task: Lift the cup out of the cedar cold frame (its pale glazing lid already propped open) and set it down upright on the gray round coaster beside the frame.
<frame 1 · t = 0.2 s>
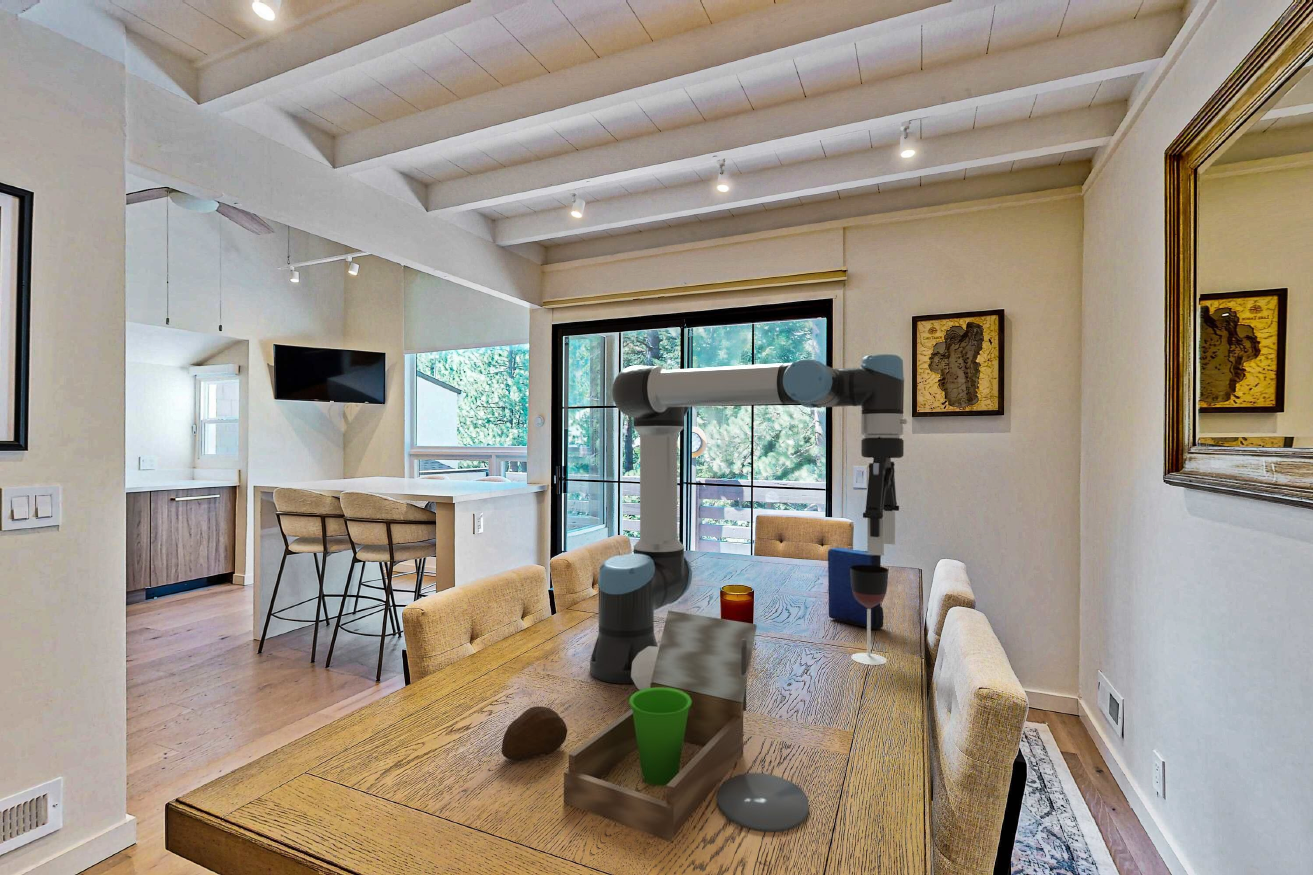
hand: (881, 549, 116), 28 cm above the table, fingers open, 13 cm apart
cold frame: (660, 776, 88), on the table
cup: (660, 777, 88), resting in cold frame
potato: (534, 754, 94), on the table
wineglass: (868, 659, 136), on the table
book: (855, 625, 162), on the table
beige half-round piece: (657, 697, 116), on the table
gray round coaster: (762, 803, 81), on the table
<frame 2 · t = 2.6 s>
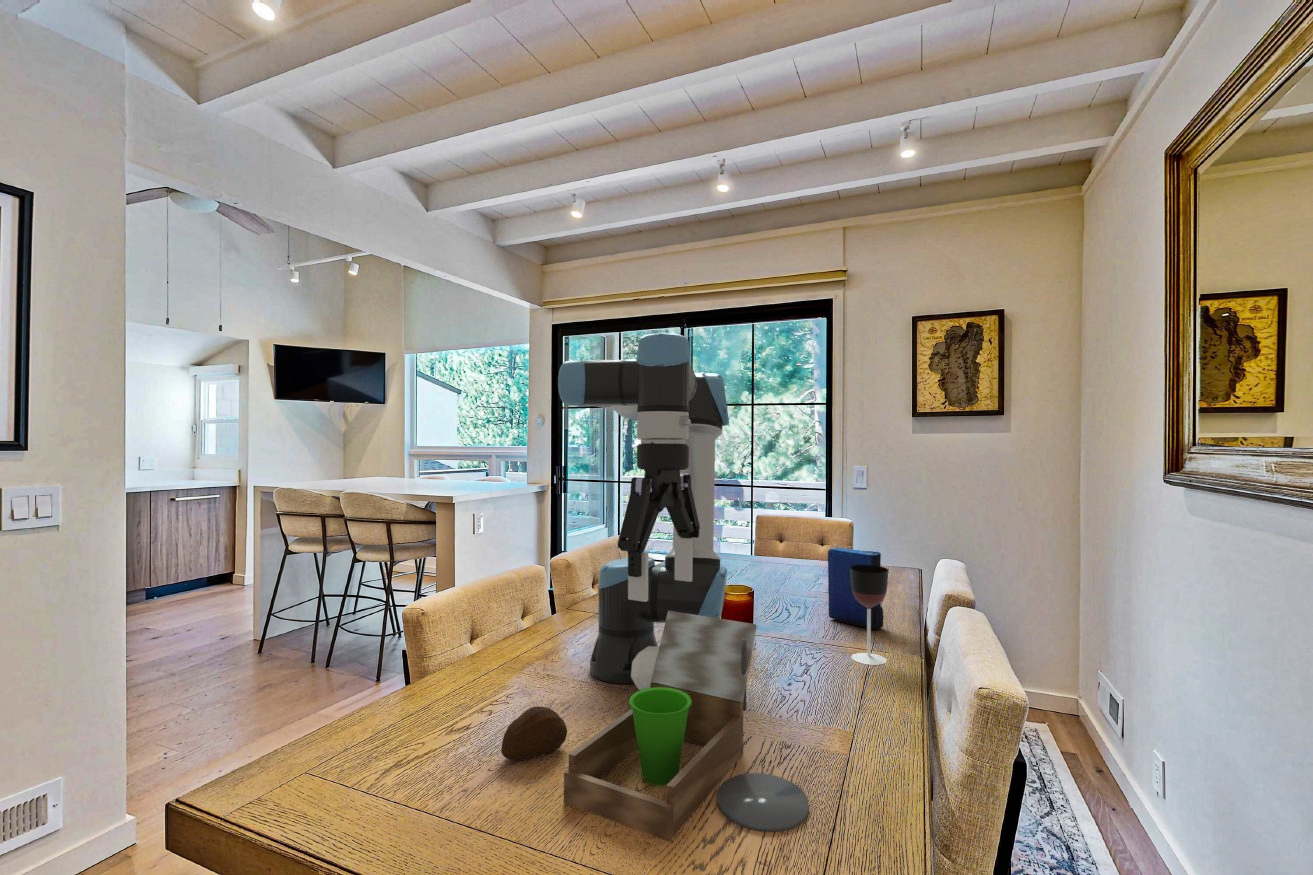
hand: (662, 589, 88), 27 cm above the table, fingers open, 13 cm apart
nothing on the table moved.
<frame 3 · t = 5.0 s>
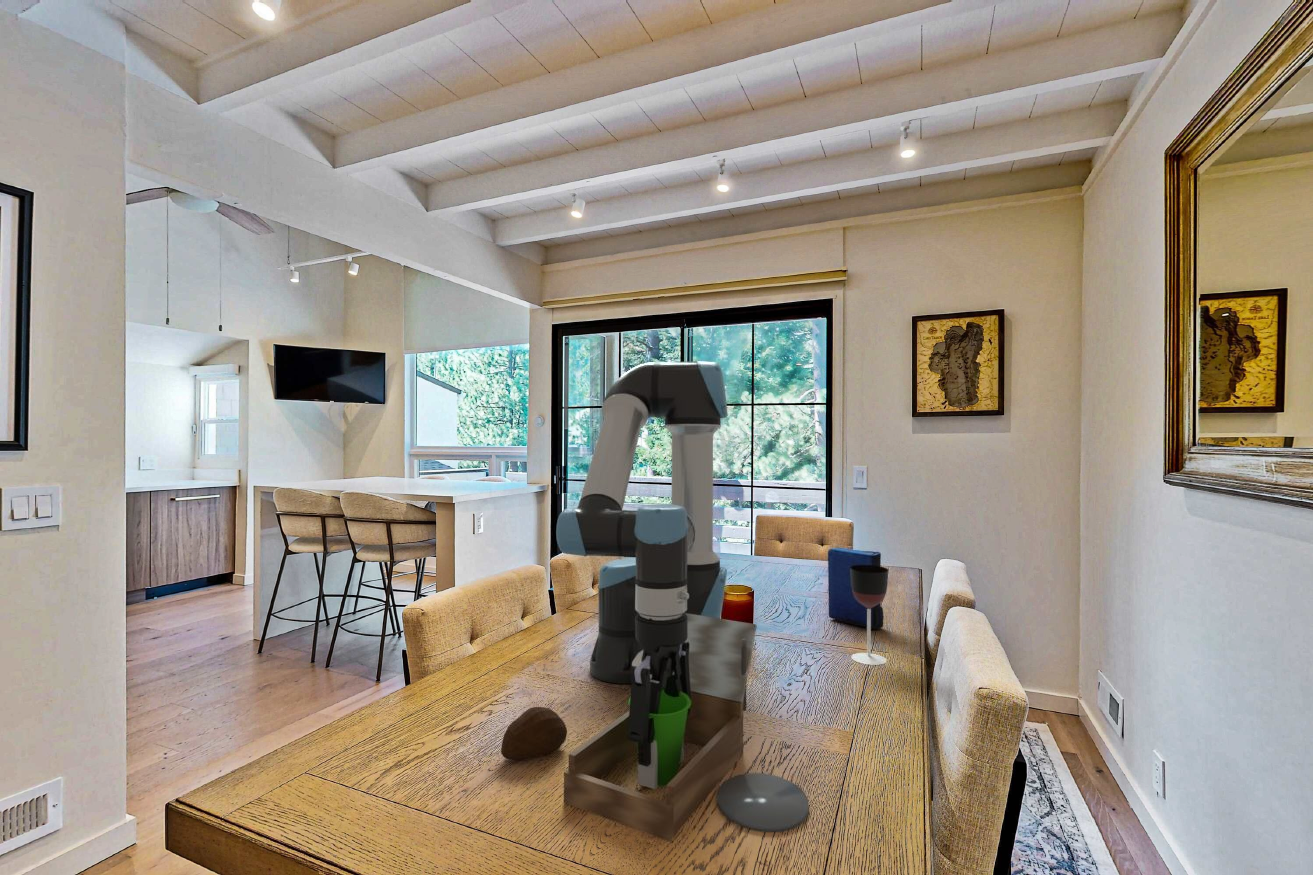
hand: (661, 771, 88), 1 cm above the table, fingers closed on cup, 7 cm apart
cup: (659, 778, 88), resting in cold frame, touching gripper
everything else where it was.
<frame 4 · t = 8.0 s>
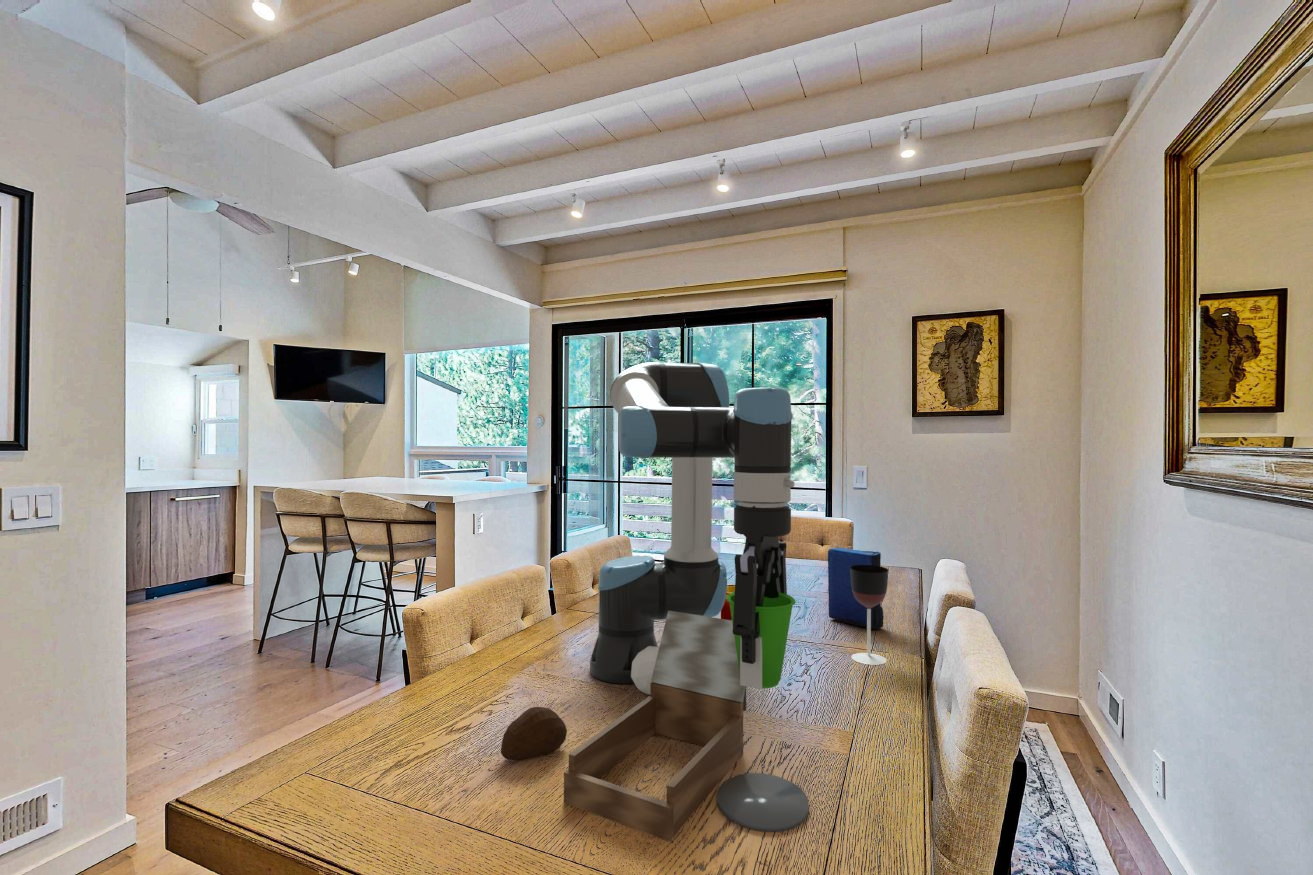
hand: (761, 675, 82), 17 cm above the table, fingers closed on cup, 7 cm apart
cup: (760, 682, 81), point 16 cm above the table, touching gripper
everything else where it was.
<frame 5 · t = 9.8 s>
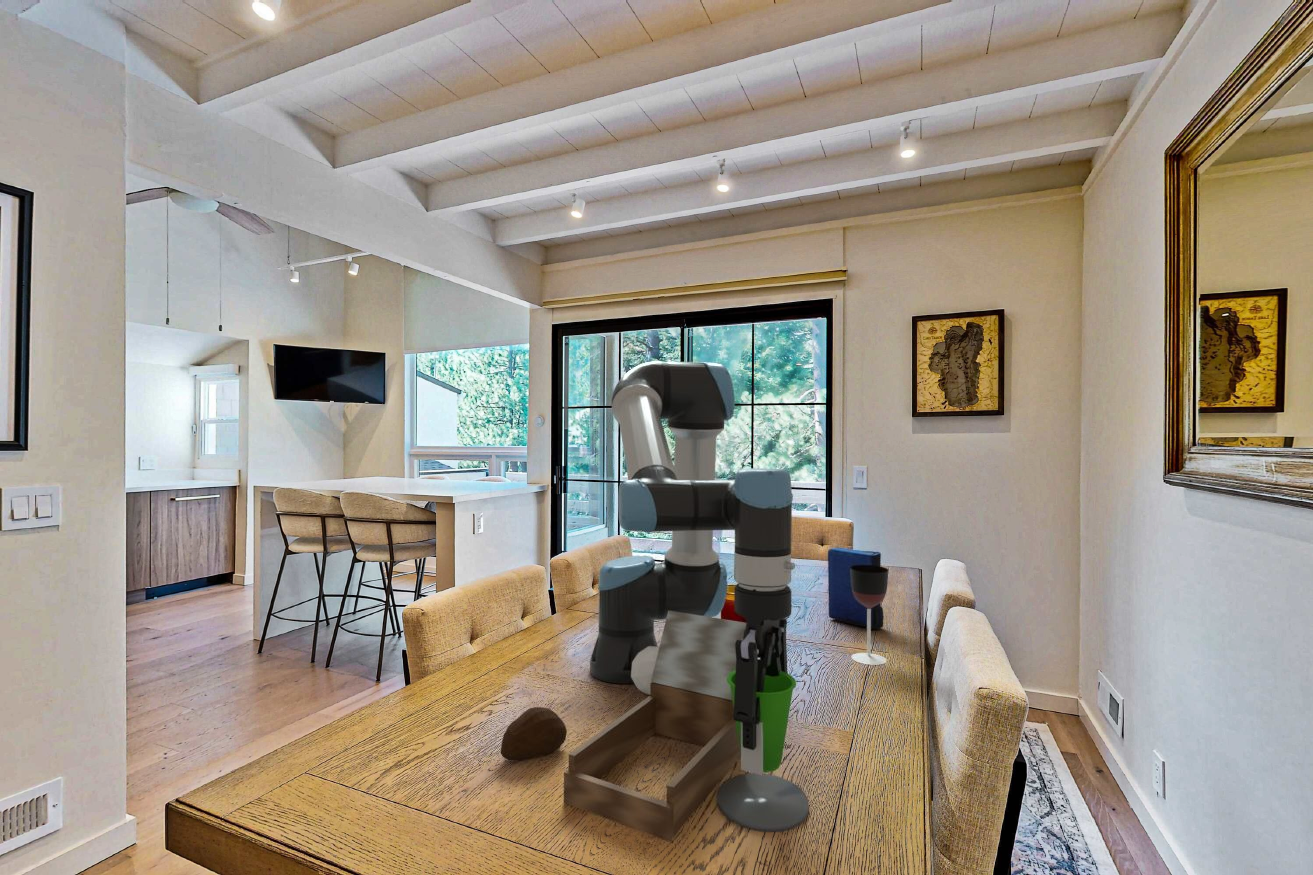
hand: (762, 756, 81), 6 cm above the table, fingers closed on cup, 7 cm apart
cup: (760, 763, 81), point 6 cm above the table, touching gripper
everything else where it was.
when the fingers open (3 cm above the table, at t = 11.0 s): cup drops 1 cm, resting on gray round coaster.
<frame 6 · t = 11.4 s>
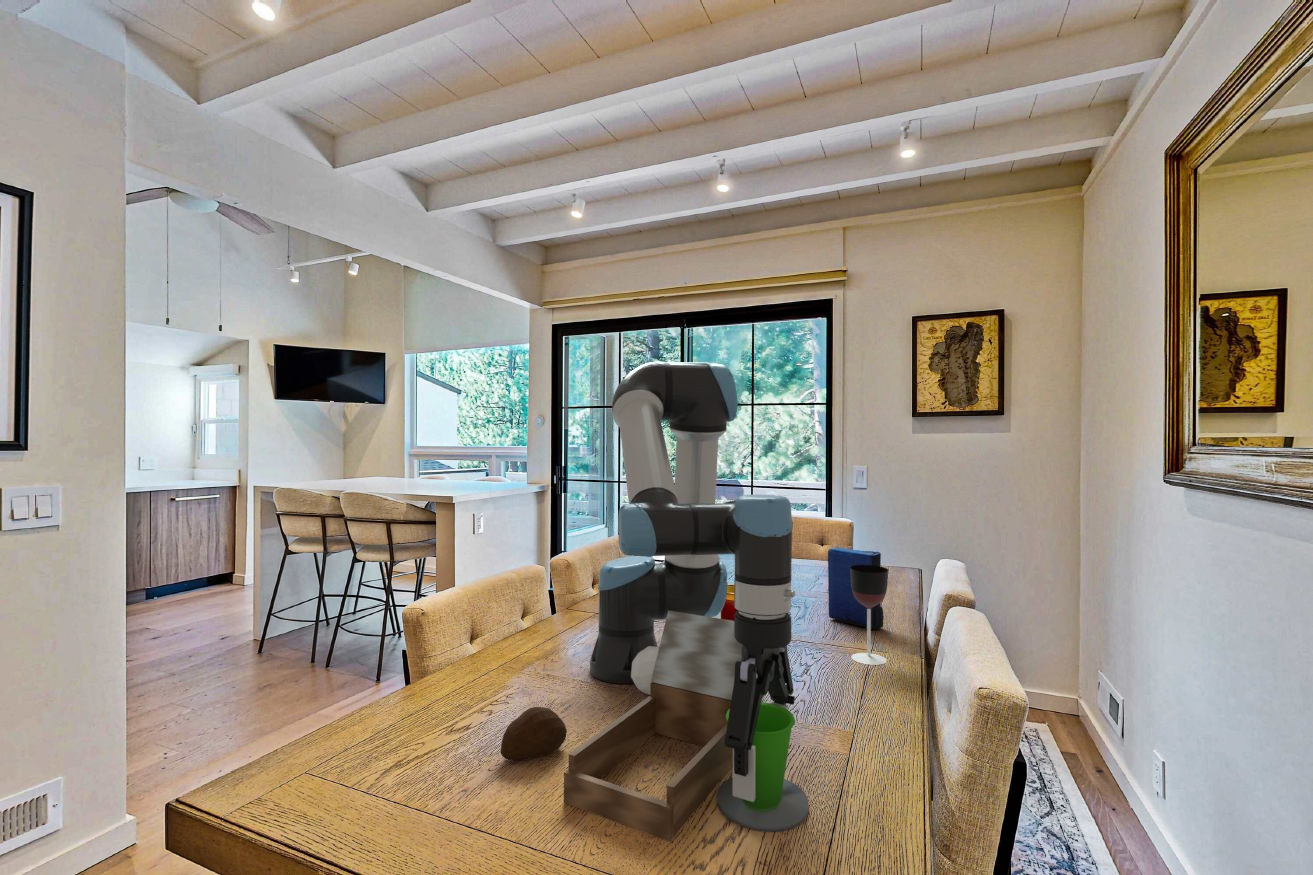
hand: (762, 772, 81), 4 cm above the table, fingers open, 13 cm apart
cup: (760, 800, 81), point 1 cm above the table, touching gray round coaster
everything else where it was.
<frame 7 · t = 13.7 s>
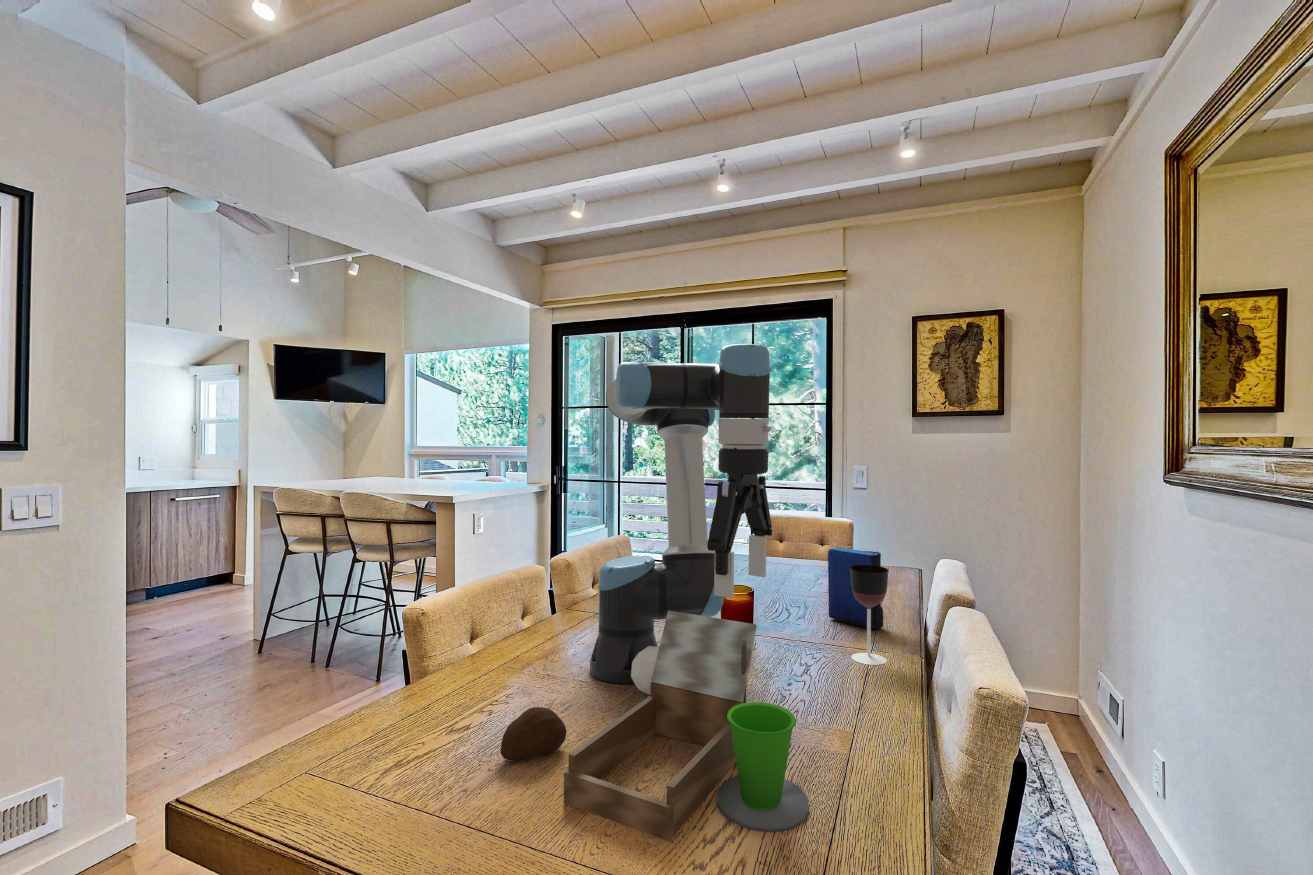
hand: (741, 585, 94), 26 cm above the table, fingers open, 13 cm apart
nothing on the table moved.
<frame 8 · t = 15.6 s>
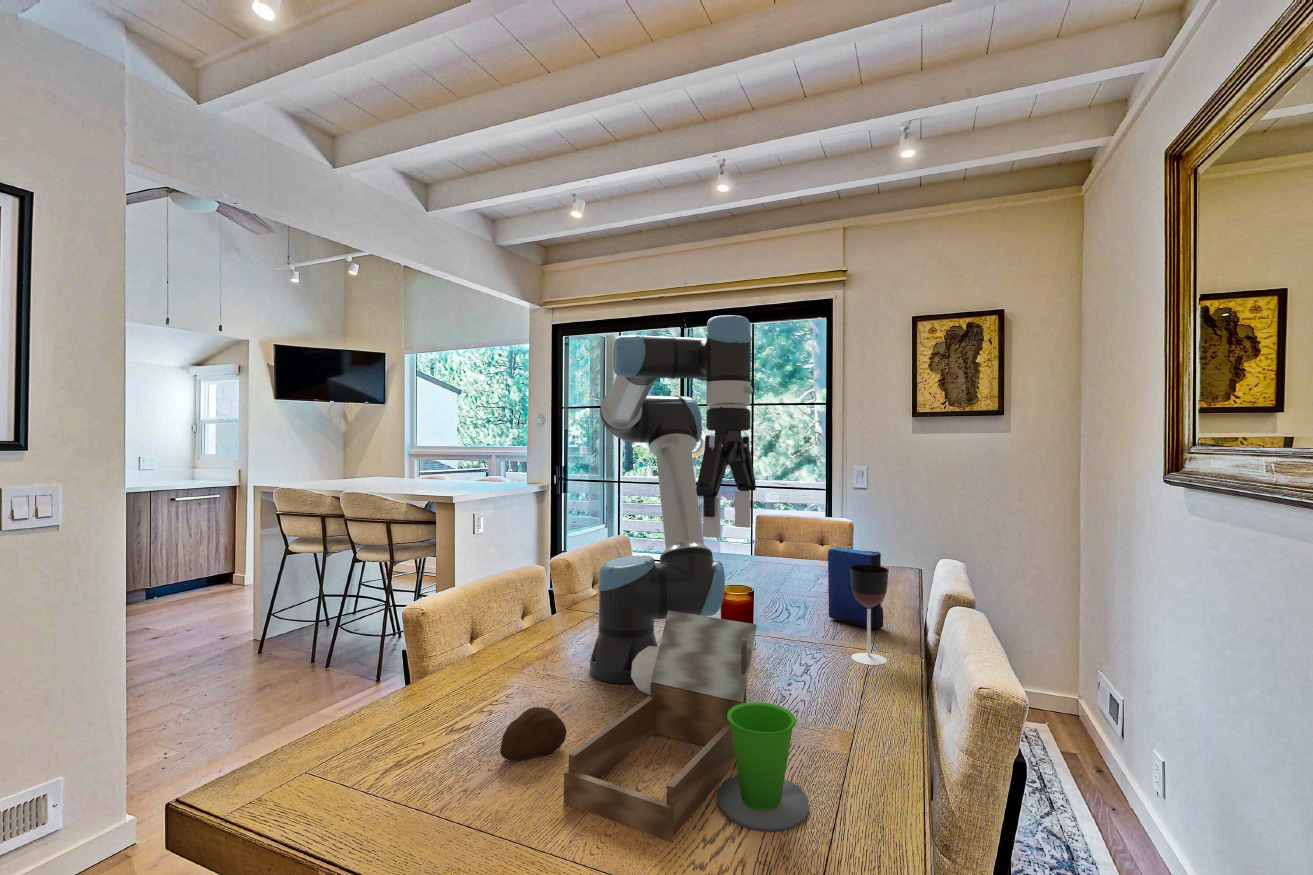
hand: (727, 531, 105), 33 cm above the table, fingers open, 13 cm apart
nothing on the table moved.
at the end: cup 0.6 cm from the gray round coaster (horizontally); cup tilted 0°; cup touching gray round coaster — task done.
